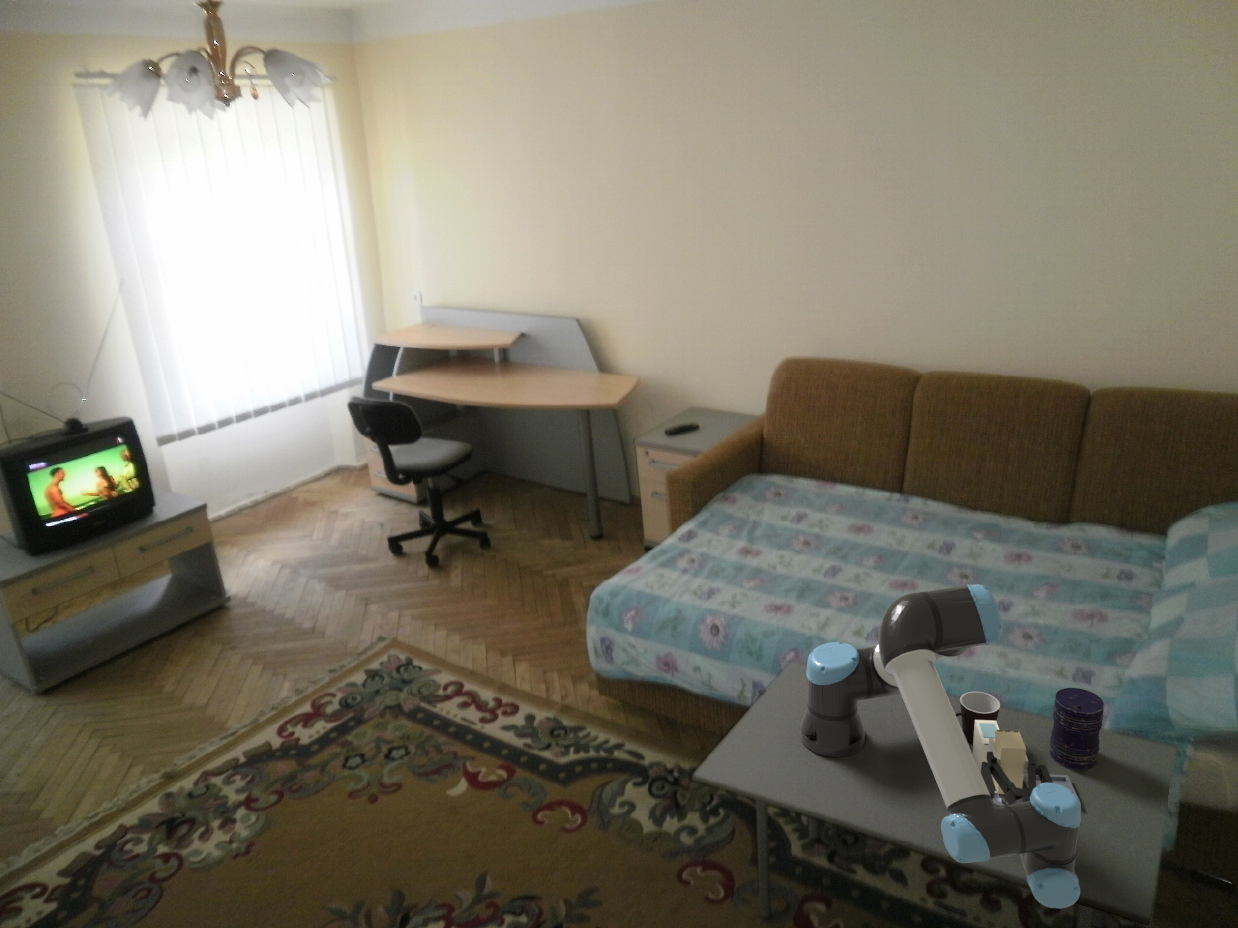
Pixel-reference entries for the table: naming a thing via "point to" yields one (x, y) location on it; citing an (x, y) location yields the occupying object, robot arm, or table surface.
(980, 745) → the cream box with panel
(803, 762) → the table surface
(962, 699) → the coffee mug
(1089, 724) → the storage jar
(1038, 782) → the tray
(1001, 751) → the cream rectangular block
